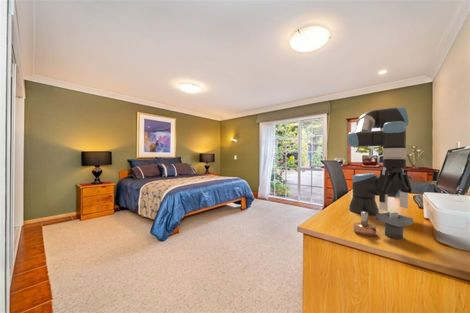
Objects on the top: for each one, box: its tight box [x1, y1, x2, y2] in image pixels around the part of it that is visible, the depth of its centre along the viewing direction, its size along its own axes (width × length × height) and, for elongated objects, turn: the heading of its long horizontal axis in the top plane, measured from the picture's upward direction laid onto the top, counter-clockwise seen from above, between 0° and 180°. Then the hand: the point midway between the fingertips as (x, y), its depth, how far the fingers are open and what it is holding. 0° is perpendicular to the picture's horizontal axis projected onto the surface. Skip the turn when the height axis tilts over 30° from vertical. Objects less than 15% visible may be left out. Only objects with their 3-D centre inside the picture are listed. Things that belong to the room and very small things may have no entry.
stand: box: [384, 211, 404, 240], centre depth 82 cm, size 6×6×10 cm
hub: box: [352, 211, 377, 237], centre depth 85 cm, size 8×8×9 cm
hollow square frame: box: [375, 211, 414, 227], centre depth 82 cm, size 9×9×2 cm
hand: (393, 208), depth 81 cm, fingers open, 13 cm apart
